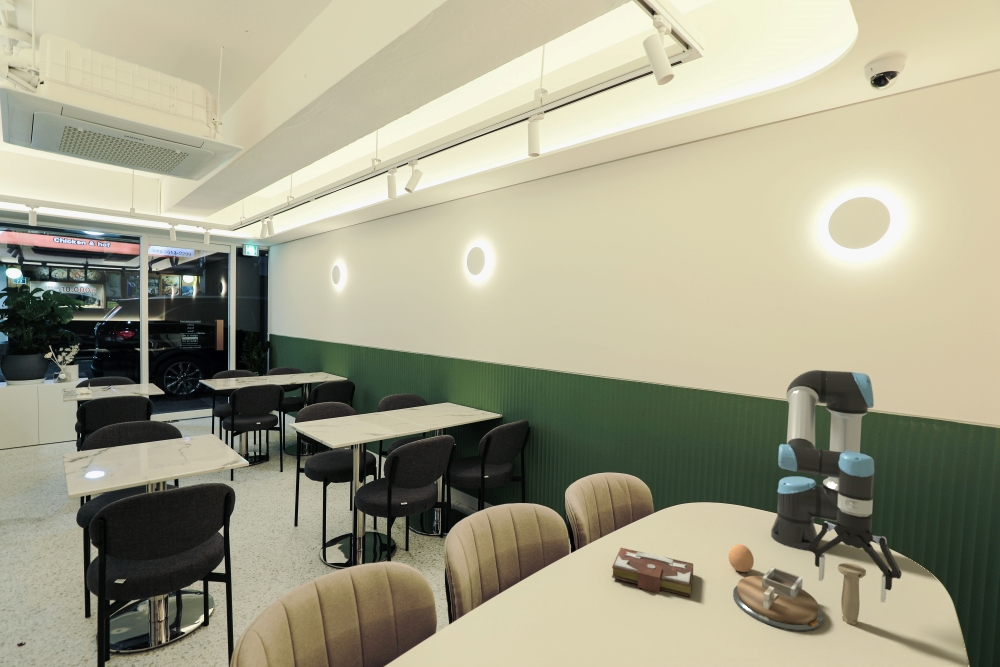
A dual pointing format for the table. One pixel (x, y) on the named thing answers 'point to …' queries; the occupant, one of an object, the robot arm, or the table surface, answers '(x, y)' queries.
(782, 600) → the dial
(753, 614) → the base
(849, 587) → the handle
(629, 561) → the book
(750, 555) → the egg
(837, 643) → the table surface
